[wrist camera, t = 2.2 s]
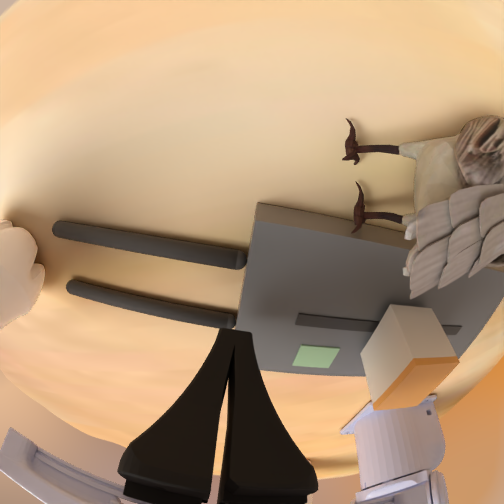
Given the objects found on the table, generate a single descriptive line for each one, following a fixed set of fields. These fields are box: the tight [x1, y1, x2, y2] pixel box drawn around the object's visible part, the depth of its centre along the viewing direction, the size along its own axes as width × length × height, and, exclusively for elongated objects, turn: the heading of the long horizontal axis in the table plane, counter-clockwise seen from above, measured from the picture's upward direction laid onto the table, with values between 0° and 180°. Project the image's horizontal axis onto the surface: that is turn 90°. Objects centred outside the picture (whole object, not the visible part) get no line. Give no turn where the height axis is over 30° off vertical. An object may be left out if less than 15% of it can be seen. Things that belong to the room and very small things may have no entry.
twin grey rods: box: [52, 221, 247, 329], centre depth 15 cm, size 12×6×1 cm, turn 81°
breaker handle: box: [360, 304, 460, 411], centre depth 12 cm, size 3×4×4 cm
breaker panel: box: [235, 203, 504, 376], centre depth 15 cm, size 18×10×2 cm, turn 81°
